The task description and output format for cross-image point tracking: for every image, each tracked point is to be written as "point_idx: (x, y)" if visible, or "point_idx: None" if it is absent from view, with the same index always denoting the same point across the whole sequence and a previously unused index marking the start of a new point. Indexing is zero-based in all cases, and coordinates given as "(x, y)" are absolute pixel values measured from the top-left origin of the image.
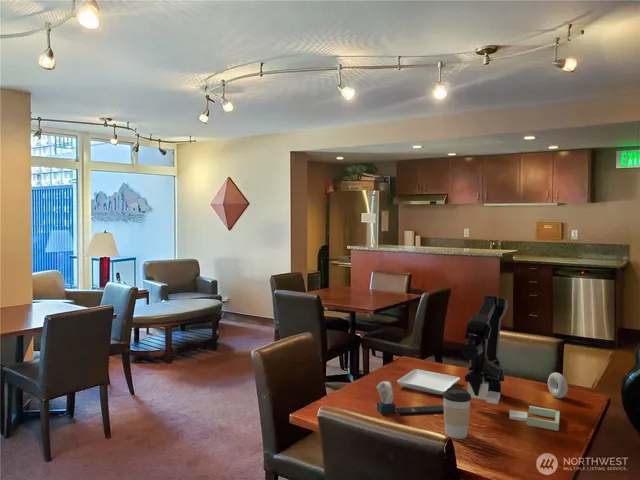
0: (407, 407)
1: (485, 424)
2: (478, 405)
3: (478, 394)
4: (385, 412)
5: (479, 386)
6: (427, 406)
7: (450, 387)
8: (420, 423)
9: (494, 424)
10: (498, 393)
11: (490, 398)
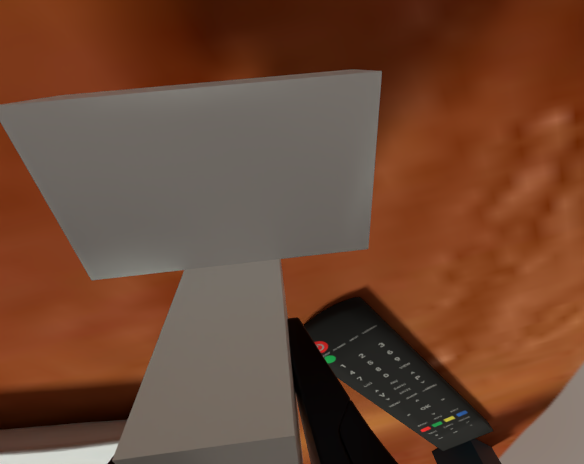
0: (425, 436)
1: (523, 118)
2: None
3: (289, 326)
4: (489, 450)
5: (376, 439)
6: (385, 406)
7: (67, 432)
8: (552, 365)
9: (512, 47)
10: (70, 126)
11: (369, 188)
